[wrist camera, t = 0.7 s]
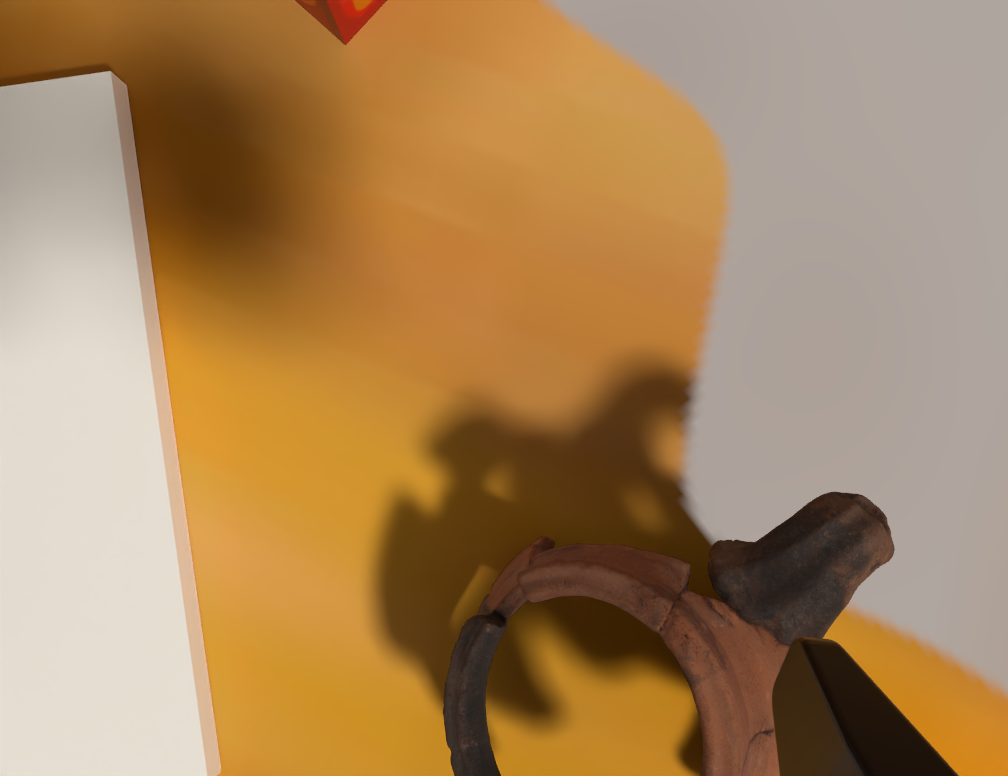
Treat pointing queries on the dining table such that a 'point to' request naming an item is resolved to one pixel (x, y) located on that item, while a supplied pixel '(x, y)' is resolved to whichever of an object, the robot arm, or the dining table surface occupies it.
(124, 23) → the dining table surface
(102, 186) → the square socket base
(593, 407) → the dining table surface
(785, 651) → the pottery mug
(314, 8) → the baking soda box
